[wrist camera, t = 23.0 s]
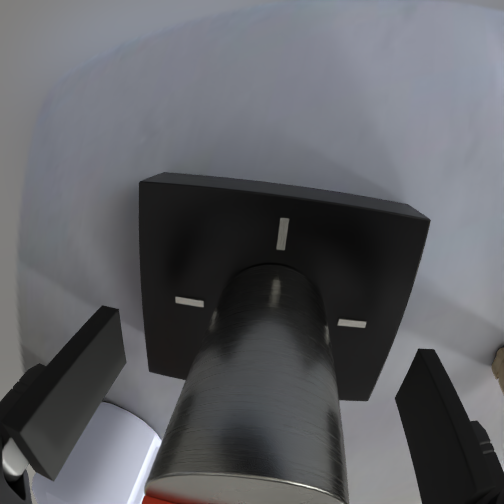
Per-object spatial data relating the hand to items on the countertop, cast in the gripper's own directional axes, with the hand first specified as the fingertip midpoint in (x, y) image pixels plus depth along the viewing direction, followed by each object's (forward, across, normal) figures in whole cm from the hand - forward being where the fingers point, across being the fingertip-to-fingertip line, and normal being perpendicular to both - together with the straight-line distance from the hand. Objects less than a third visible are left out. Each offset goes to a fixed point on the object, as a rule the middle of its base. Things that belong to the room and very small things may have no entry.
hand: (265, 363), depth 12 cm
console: (+7, 0, 0) cm, 7 cm away
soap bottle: (+7, -12, -18) cm, 23 cm away
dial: (+4, 0, 0) cm, 4 cm away
